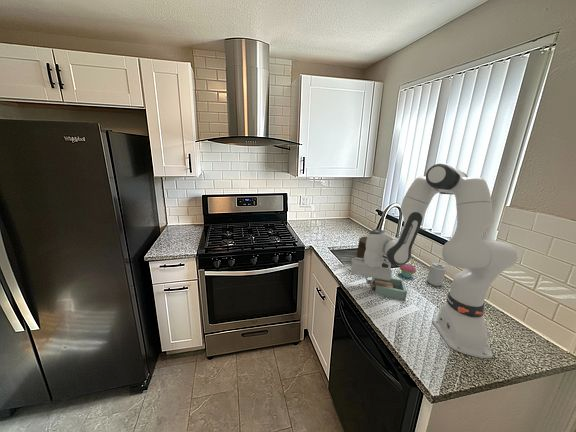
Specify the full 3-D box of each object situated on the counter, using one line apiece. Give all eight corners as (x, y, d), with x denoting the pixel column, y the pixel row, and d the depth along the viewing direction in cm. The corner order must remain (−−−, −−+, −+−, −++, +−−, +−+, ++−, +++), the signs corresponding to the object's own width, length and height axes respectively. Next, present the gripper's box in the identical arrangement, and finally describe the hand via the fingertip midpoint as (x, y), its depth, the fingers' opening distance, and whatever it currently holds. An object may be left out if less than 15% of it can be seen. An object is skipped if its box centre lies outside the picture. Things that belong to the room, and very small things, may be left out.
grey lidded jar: (434, 287, 129) (439, 267, 126) (423, 280, 136) (427, 261, 133) (445, 286, 131) (450, 266, 128) (434, 279, 138) (438, 260, 135)
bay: (405, 300, 116) (407, 292, 115) (374, 294, 120) (376, 286, 119) (401, 287, 128) (403, 279, 127) (374, 282, 132) (375, 274, 131)
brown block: (392, 294, 121) (394, 285, 119) (372, 290, 124) (373, 281, 122) (391, 287, 127) (392, 279, 125) (371, 284, 130) (373, 275, 128)
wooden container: (385, 272, 144) (391, 238, 138) (364, 274, 139) (369, 239, 133) (370, 261, 157) (375, 229, 151) (350, 263, 153) (354, 231, 147)
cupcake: (412, 273, 143) (416, 255, 140) (415, 280, 135) (420, 261, 132) (397, 271, 145) (400, 253, 142) (399, 278, 137) (403, 259, 134)
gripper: (351, 259, 123) (348, 282, 126) (394, 266, 117) (389, 290, 121) (352, 254, 128) (349, 277, 132) (392, 261, 123) (388, 284, 126)
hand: (368, 283), depth 126 cm, fingers closed
